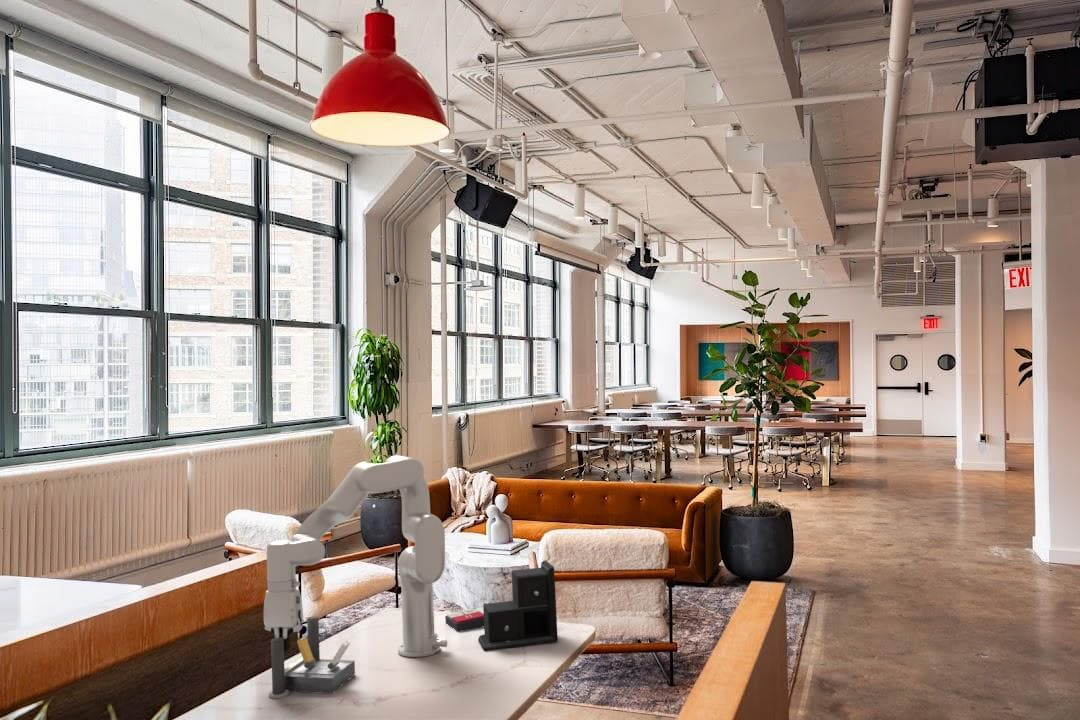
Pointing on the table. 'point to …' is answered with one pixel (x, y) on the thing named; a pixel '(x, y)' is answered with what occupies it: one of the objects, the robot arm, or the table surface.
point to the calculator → (466, 619)
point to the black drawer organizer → (523, 612)
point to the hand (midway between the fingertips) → (283, 651)
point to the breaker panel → (317, 676)
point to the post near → (278, 669)
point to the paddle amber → (306, 652)
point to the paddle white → (338, 655)
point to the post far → (313, 635)
